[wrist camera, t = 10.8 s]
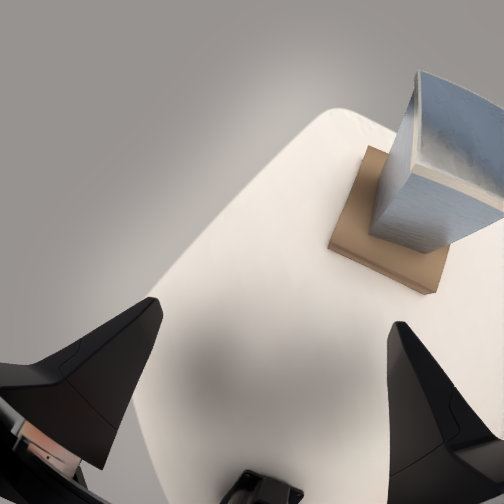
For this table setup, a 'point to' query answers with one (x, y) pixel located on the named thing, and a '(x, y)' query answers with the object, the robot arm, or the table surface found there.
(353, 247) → the walnut block
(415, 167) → the tea tin
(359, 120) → the table surface
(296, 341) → the table surface
